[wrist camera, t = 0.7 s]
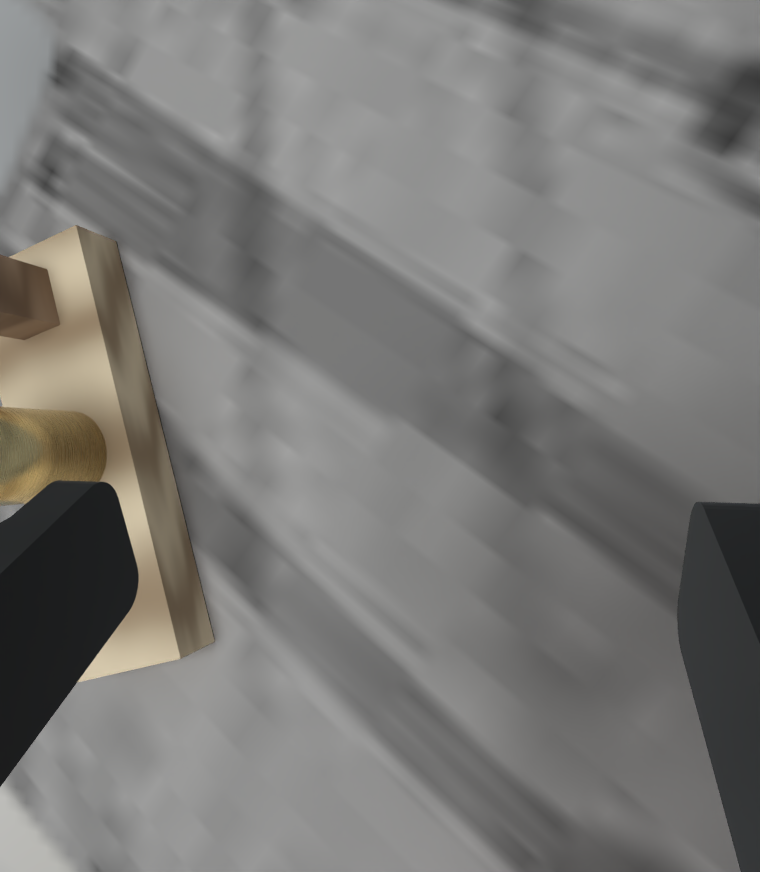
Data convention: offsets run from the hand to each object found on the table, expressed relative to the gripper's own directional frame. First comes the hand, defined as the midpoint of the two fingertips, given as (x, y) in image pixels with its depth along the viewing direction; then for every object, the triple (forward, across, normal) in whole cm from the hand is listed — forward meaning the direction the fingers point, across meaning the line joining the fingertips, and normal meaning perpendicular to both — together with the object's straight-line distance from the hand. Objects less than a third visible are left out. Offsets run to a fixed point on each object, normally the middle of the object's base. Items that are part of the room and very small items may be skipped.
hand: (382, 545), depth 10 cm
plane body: (+22, +20, +11) cm, 32 cm away
